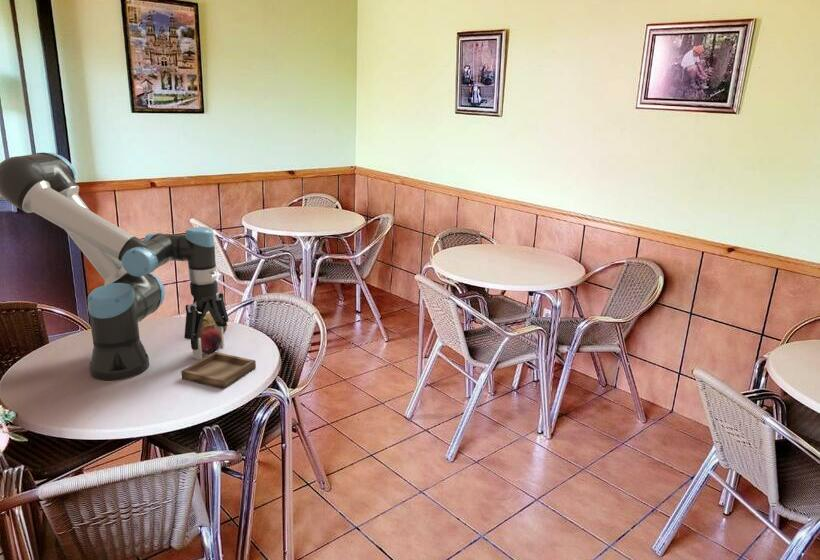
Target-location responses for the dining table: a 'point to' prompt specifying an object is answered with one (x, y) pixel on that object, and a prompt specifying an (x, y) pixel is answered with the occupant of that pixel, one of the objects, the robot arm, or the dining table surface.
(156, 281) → the robot arm
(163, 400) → the dining table surface
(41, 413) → the dining table surface
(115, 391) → the dining table surface
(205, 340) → the fruit
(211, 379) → the walnut tray
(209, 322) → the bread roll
